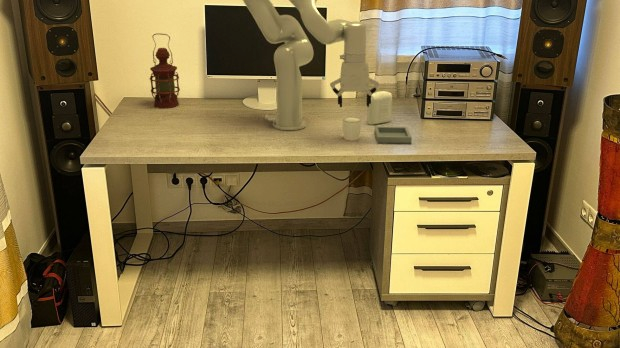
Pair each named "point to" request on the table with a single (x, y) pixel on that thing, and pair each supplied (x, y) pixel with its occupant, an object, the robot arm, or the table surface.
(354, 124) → the white cylinder
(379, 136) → the parts tray
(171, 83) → the lantern
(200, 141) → the table surface
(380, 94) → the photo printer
